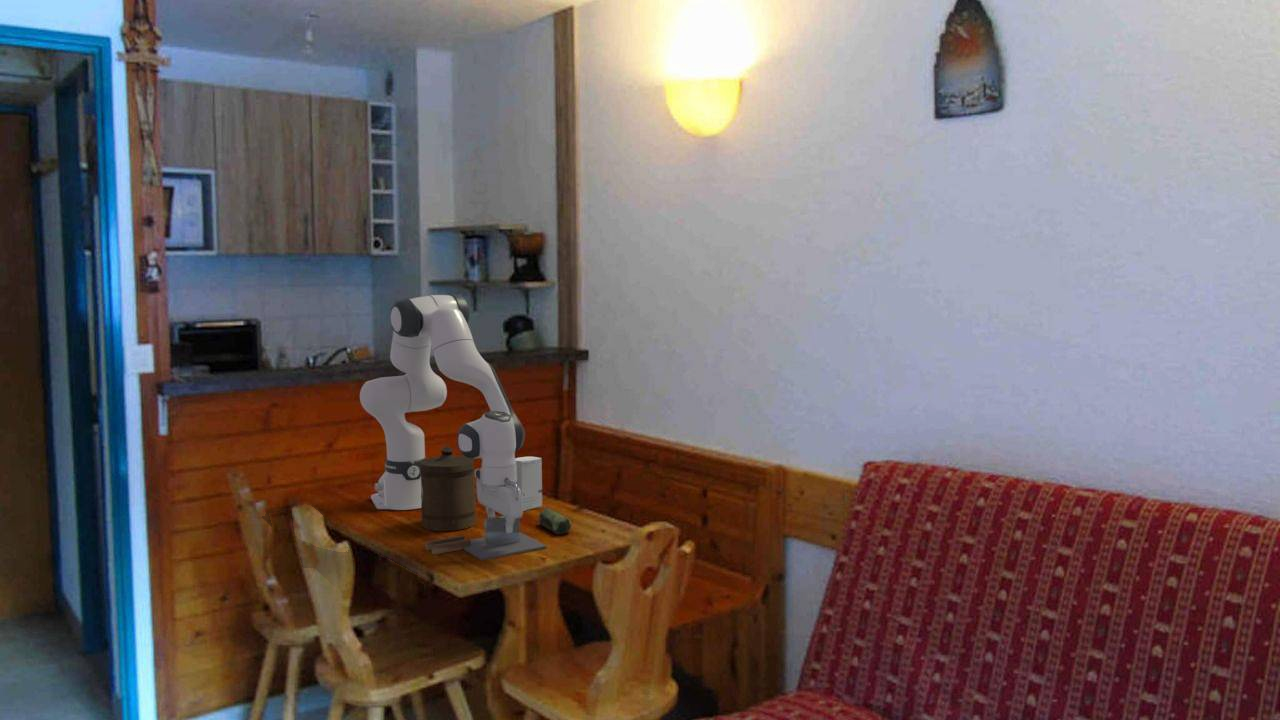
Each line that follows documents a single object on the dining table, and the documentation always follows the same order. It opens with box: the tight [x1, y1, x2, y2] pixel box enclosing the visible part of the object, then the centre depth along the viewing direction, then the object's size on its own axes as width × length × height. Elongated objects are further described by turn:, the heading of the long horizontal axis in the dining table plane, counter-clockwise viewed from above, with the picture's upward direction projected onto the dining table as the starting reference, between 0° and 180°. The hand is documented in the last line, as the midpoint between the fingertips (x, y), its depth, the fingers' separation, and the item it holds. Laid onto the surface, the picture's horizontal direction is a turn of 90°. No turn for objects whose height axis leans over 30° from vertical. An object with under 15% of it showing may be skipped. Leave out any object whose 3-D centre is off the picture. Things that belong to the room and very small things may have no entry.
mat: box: [462, 531, 547, 561], centre depth 258 cm, size 16×18×1 cm
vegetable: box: [538, 507, 572, 535], centre depth 273 cm, size 14×5×5 cm, turn 31°
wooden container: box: [420, 445, 477, 532], centre depth 278 cm, size 15×15×22 cm
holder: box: [424, 534, 471, 555], centre depth 256 cm, size 6×10×2 cm, turn 123°
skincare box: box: [515, 455, 543, 512], centre depth 296 cm, size 8×6×15 cm
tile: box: [483, 515, 521, 548], centre depth 258 cm, size 2×9×7 cm, turn 123°
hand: (500, 527), depth 258 cm, fingers open, 8 cm apart
